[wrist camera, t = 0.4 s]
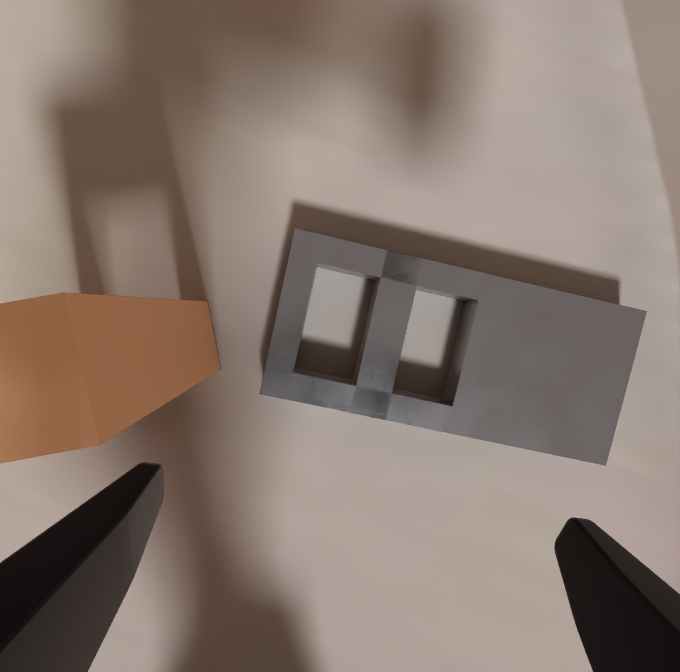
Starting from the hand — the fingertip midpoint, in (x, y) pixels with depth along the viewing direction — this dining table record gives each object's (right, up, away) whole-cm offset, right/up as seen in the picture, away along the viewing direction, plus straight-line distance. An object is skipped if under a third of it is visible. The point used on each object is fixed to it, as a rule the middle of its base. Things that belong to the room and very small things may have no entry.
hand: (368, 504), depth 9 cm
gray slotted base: (+6, +3, +15) cm, 17 cm away
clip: (-11, +3, +14) cm, 19 cm away
